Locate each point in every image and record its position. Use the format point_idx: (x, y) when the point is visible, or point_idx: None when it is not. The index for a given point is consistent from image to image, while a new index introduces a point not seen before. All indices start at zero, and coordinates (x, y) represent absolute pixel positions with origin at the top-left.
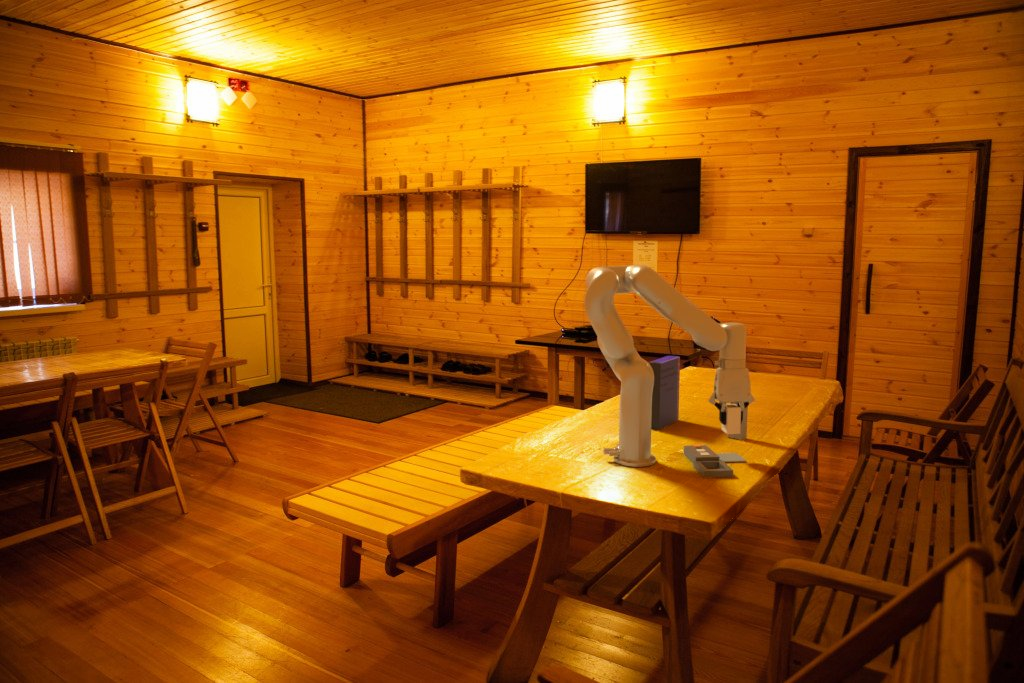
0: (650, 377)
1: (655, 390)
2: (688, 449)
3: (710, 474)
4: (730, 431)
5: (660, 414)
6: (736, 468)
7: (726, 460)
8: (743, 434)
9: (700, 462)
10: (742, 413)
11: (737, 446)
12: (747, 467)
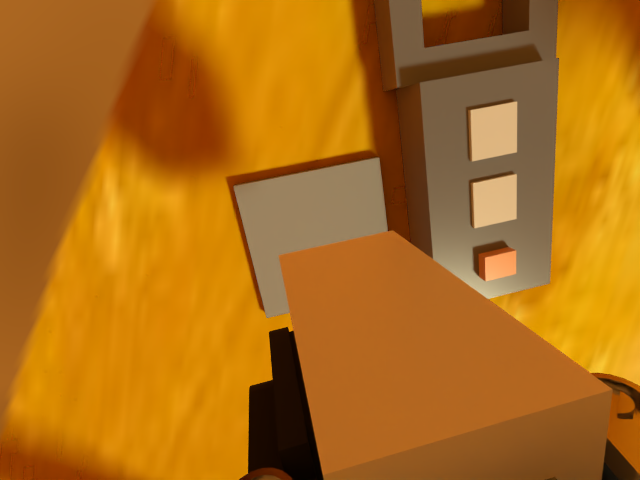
0: None
1: None
2: (549, 218)
3: None
4: (373, 243)
5: None
6: (306, 64)
7: (343, 178)
8: None
9: (529, 23)
10: (255, 455)
11: (243, 434)
12: (240, 90)
